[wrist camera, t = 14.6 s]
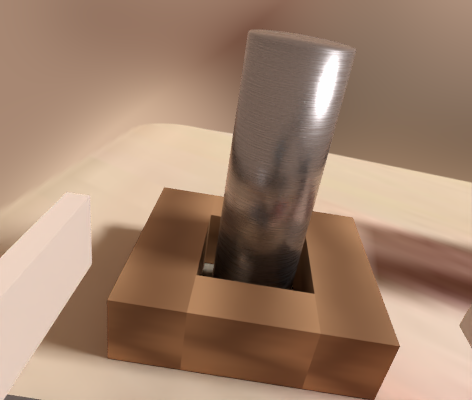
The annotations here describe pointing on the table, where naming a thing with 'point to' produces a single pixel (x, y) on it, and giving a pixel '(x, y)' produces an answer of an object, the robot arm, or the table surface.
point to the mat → (17, 398)
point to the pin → (278, 153)
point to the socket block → (251, 306)
